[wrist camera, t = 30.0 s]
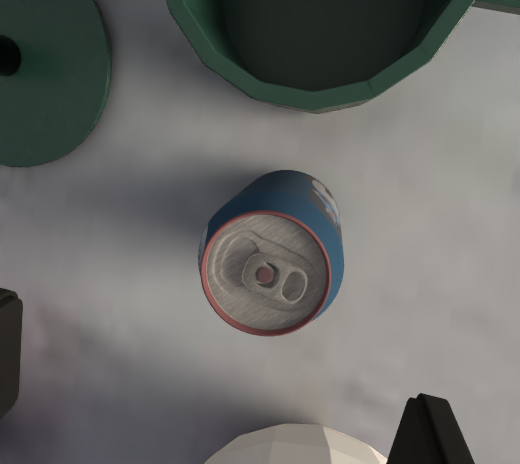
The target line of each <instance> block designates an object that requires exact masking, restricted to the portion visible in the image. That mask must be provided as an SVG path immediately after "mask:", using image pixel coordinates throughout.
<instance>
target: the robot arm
mask: <svg viewBox="0 0 520 464" xmlns="http://www.w3.org/2000/svg"><path fill="white" fill-rule="evenodd" d="M22 311H23V303H22V301H21V300H20V299H18V296H17V293H16V292H14V291H11V290H7V289H3V288H0V419H1V418H2V417H3V416H4V415H5V414H6V413H7V412H8V411H9V410H10V409H11V408H12V407H13V405H14V404H15V402H16V400H17V397H18V393H19V375H20V353H21V332H22ZM386 464H475V463H474V461H473V458H472V456H471V454H470V451H469V449H468V447H467V444H466V442H465V440H464V437H463V435H462V433H461V430H460V428H459V426H458V423H457V421H456V419H455V416H454V414H453V412H452V409H451V407H450V404H449V402H448V401H447V400H446V399H442V398H438V397H434V396H430V395H426V394H422V393H420V394H419V395H418V396H417V398H416V399H415V398H409V399H408V401H407V404H406V407H405V410H404V413H403V415H402V418H401V421H400V424H399V427H398V430H397V433H396V436H395V439H394V442H393V445H392V448H391V451H390V454H389V457H388V460H387V463H386Z"/></svg>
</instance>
